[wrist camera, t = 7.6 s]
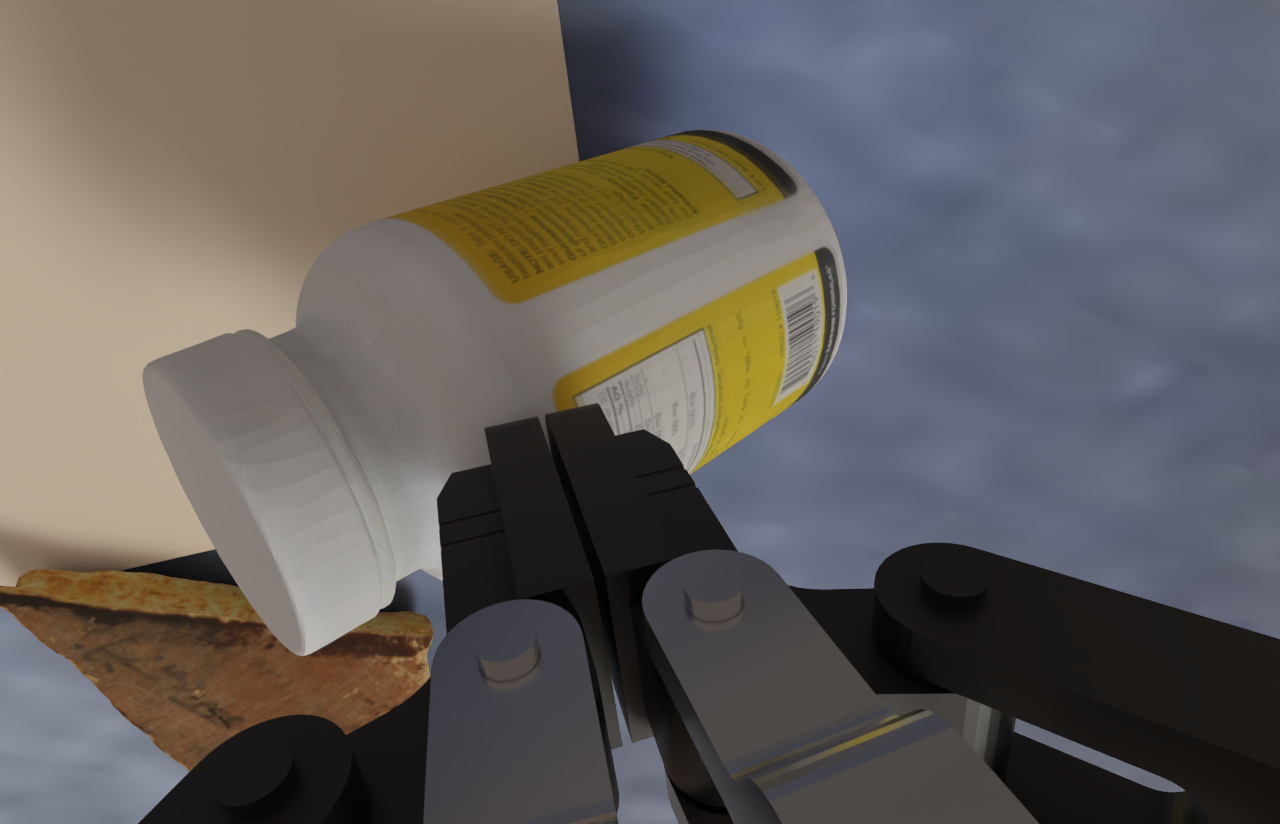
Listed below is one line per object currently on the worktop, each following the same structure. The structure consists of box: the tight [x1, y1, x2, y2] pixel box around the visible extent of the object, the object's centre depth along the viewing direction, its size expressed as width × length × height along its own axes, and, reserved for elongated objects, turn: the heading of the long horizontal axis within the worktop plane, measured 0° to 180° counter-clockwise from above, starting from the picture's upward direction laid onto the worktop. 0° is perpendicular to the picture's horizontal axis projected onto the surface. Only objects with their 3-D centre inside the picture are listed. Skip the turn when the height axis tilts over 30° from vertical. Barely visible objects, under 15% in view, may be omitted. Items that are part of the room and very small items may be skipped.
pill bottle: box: [142, 130, 847, 656], centre depth 15 cm, size 6×6×12 cm
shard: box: [0, 569, 433, 772], centre depth 21 cm, size 11×8×2 cm
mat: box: [0, 0, 579, 587], centre depth 18 cm, size 16×13×1 cm
